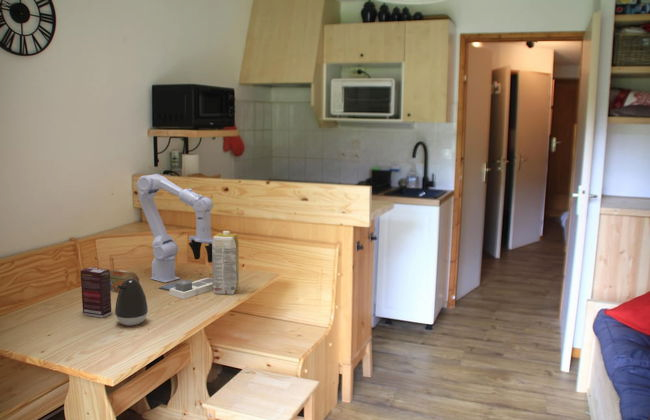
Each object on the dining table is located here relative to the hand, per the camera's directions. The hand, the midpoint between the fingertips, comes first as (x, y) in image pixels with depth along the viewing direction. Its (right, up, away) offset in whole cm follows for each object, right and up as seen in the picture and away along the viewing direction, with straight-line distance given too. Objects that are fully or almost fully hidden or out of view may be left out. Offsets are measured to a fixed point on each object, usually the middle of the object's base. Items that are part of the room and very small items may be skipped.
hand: (203, 260), depth 231 cm
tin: (-29, -11, -10) cm, 33 cm away
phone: (-11, -11, -1) cm, 15 cm away
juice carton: (+10, -12, -8) cm, 17 cm away
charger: (-5, -12, -12) cm, 18 cm away
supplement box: (-29, -16, -35) cm, 48 cm away
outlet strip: (0, -11, -5) cm, 12 cm away
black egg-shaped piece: (-15, -17, -42) cm, 48 cm away
